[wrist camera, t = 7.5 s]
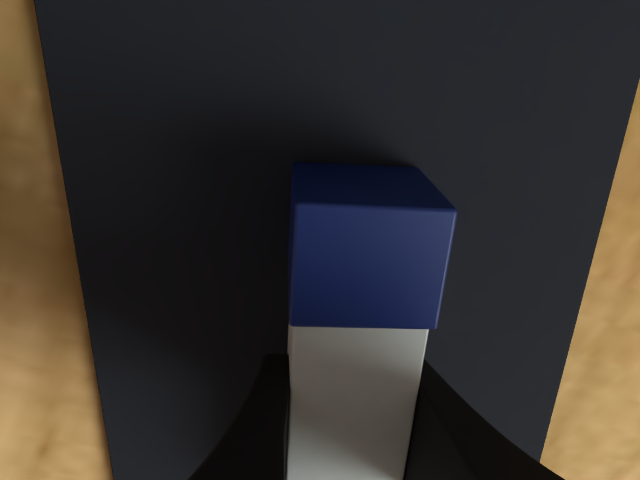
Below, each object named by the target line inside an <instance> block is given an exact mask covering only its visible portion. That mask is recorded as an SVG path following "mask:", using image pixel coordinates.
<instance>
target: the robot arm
mask: <svg viewBox="0 0 640 480" xmlns="http://www.w3.org/2000/svg"><path fill="white" fill-rule="evenodd" d="M289 393H290V373H289V354H266V355H265V356H264V357H262V362H261V365H260V368H259V371H258V374H257V376H256V378H255V381H254V383H253V385H252V387H251V389H250V391H249V393H248V395H247V397H246V399H245V401H244V402H243V404H242V406H241V408H240V410H239V411H238V413H237V414H236V416H235V418H234V419H233V421H232V422H231V424H230V425H229V427H228V429H227V430H226V432H225V433H224V435H223V436H222V437H221V439H220V440H219V442H218V443H217V444H216V446H215V447H214V448H213V450H212V451H211V452H210V453H209V455H208V456H207V457H206V459H205V460H204V461H203V462H202V463H201V465H200V466H199V467H198V468H197V469H196V470H195V471H194V473H193V474H192V475H191V476H190V477H189V478H188V479H187V480H285V471H286V452H287V432H288V412H289ZM403 480H565V479H563V478H562V477H560V476H558V475H557V474H555V473H554V472H552V471H551V470H549V469H548V468H546V467H545V466H543V465H542V464H540V463H539V462H538V461H536V460H535V459H533V458H532V457H531V456H529V455H528V454H527V453H525V452H524V451H523V450H521V449H520V448H519V447H517V446H516V445H515V444H513V443H512V442H511V441H510V440H508V439H507V438H506V437H505V436H504V435H502V434H501V433H500V432H499V431H498V430H497V429H495V428H494V427H493V426H492V425H491V424H490V423H488V422H487V421H486V420H485V419H484V418H483V417H482V416H481V415H480V414H478V413H477V412H476V411H475V410H474V409H473V408H472V407H471V406H470V405H469V404H468V403H467V402H466V401H465V400H464V399H463V398H462V397H461V396H460V395H459V394H458V393H457V392H456V391H455V390H454V389H453V388H452V387H451V386H450V385H449V384H448V383H447V382H446V381H445V380H444V379H443V378H442V377H441V376H440V375H439V374H438V373H437V372H436V370H435V369H434V368H433V367H432V366H431V365H430V364H429V363H428V362H427V361H426V360H425V359H424V360H423V366H422V372H421V378H420V384H419V389H418V395H417V401H416V407H415V413H414V419H413V425H412V431H411V436H410V442H409V448H408V454H407V460H406V466H405V472H404V477H403Z"/></svg>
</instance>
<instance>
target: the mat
mask: <svg viewBox="0 0 640 480" xmlns="http://www.w3.org/2000/svg"><path fill="white" fill-rule="evenodd" d="M34 4H35V10H36V16H37V22H38V28H39V34H40V40H41V46H42V52H43V58H44V64H45V70H46V76H47V82H48V88H49V94H50V100H51V106H52V112H53V118H54V124H55V130H56V136H57V142H58V148H59V154H60V160H61V166H62V172H63V178H64V184H65V190H66V196H67V202H68V208H69V214H70V220H71V226H72V232H73V238H74V244H75V250H76V256H77V262H78V268H79V274H80V280H81V286H82V292H83V298H84V304H85V310H86V316H87V322H88V328H89V334H90V340H91V346H92V352H93V358H94V364H95V370H96V376H97V382H98V388H99V394H100V400H101V406H102V412H103V418H104V424H105V430H106V435H107V441H108V447H109V453H110V459H111V465H112V471H113V477H114V480H187V479H188V478H189V477H190V476H191V475H192V474H193V473H194V471H195V470H196V469H197V468H198V467H199V466H200V465H201V463H202V462H203V461H204V460H205V459H206V457H207V456H208V455H209V453H210V452H211V451H212V450H213V448H214V447H215V446H216V444H217V443H218V442H219V440H220V439H221V437H222V436H223V435H224V433H225V432H226V430H227V429H228V427H229V425H230V424H231V422H232V421H233V419H234V418H235V416H236V414H237V413H238V411H239V410H240V408H241V406H242V404H243V402H244V401H245V399H246V397H247V395H248V393H249V391H250V389H251V387H252V385H253V383H254V381H255V378H256V376H257V374H258V371H259V368H260V365H261V362H262V357H264V356H265V355H266V354H287V349H288V327H289V316H288V241H289V218H290V195H291V172H292V164H293V163H294V162H314V163H335V164H357V165H378V166H399V167H417V168H419V169H420V170H421V171H422V172H423V173H424V174H425V175H426V176H427V177H428V178H429V179H430V181H431V182H432V183H433V184H434V185H435V186H436V187H437V188H438V189H439V190H440V191H441V192H442V193H443V195H444V196H445V197H446V198H447V199H448V200H449V201H450V202H451V203H452V204H453V205H454V206H455V208H456V209H457V212H458V213H457V218H456V224H455V230H454V235H453V241H452V246H451V252H450V258H449V263H448V269H447V275H446V280H445V286H444V292H443V297H442V303H441V308H440V314H439V320H438V325H437V328H436V329H429V331H428V337H427V343H426V348H425V354H424V359H425V360H426V361H427V362H428V363H429V364H430V365H431V366H432V367H433V368H434V369H435V370H436V372H437V373H438V374H439V375H440V376H441V377H442V378H443V379H444V380H445V381H446V382H447V383H448V384H449V385H450V386H451V387H452V388H453V389H454V390H455V391H456V392H457V393H458V394H459V395H460V396H461V397H462V398H463V399H464V400H465V401H466V402H467V403H468V404H469V405H470V406H471V407H472V408H473V409H474V410H475V411H476V412H477V413H478V414H480V415H481V416H482V417H483V418H484V419H485V420H486V421H487V422H488V423H490V424H491V425H492V426H493V427H494V428H495V429H497V430H498V431H499V432H500V433H501V434H502V435H504V436H505V437H506V438H507V439H508V440H510V441H511V442H512V443H513V444H515V445H516V446H517V447H519V448H520V449H521V450H523V451H524V452H525V453H527V454H528V455H529V456H531V457H532V458H533V459H535V460H536V461H538V462H540V458H541V454H542V450H543V447H544V443H545V439H546V435H547V431H548V427H549V424H550V420H551V416H552V412H553V408H554V404H555V401H556V397H557V393H558V389H559V385H560V381H561V378H562V374H563V370H564V366H565V362H566V359H567V355H568V351H569V347H570V343H571V339H572V336H573V332H574V328H575V324H576V320H577V316H578V313H579V309H580V305H581V301H582V297H583V293H584V290H585V286H586V282H587V278H588V274H589V270H590V267H591V263H592V259H593V255H594V251H595V247H596V244H597V240H598V236H599V232H600V228H601V224H602V221H603V217H604V213H605V209H606V205H607V201H608V198H609V194H610V190H611V186H612V182H613V179H614V175H615V171H616V167H617V163H618V159H619V156H620V152H621V148H622V144H623V140H624V136H625V133H626V129H627V125H628V121H629V117H630V113H631V110H632V106H633V102H634V98H635V94H636V90H637V87H638V83H639V79H640V0H34Z"/></svg>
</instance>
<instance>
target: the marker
mask: <svg viewBox="0 0 640 480" xmlns="http://www.w3.org/2000/svg"><path fill="white" fill-rule="evenodd" d="M457 213H458V212H457V209H456V208H455V206H454V205H453V204H452V203H451V202H450V201H449V200H448V199H447V198H446V197H445V196H444V195H443V193H442V192H441V191H440V190H439V189H438V188H437V187H436V186H435V185H434V184H433V183H432V182H431V181H430V179H429V178H428V177H427V176H426V175H425V174H424V173H423V172H422V171H421V170H420V169H419V168H417V167H399V166H378V165H357V164H335V163H314V162H294V163H293V164H292V172H291V195H290V218H289V241H288V316H289V327H288V349H287V354H289V373H290V393H289V412H288V432H287V452H286V471H285V480H403V477H404V472H405V466H406V460H407V454H408V448H409V442H410V436H411V431H412V425H413V419H414V413H415V407H416V401H417V395H418V389H419V384H420V378H421V372H422V366H423V360H424V354H425V348H426V343H427V337H428V331H429V329H436V328H437V325H438V320H439V314H440V308H441V303H442V297H443V292H444V286H445V280H446V275H447V269H448V263H449V258H450V252H451V246H452V241H453V235H454V230H455V224H456V218H457Z"/></svg>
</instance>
